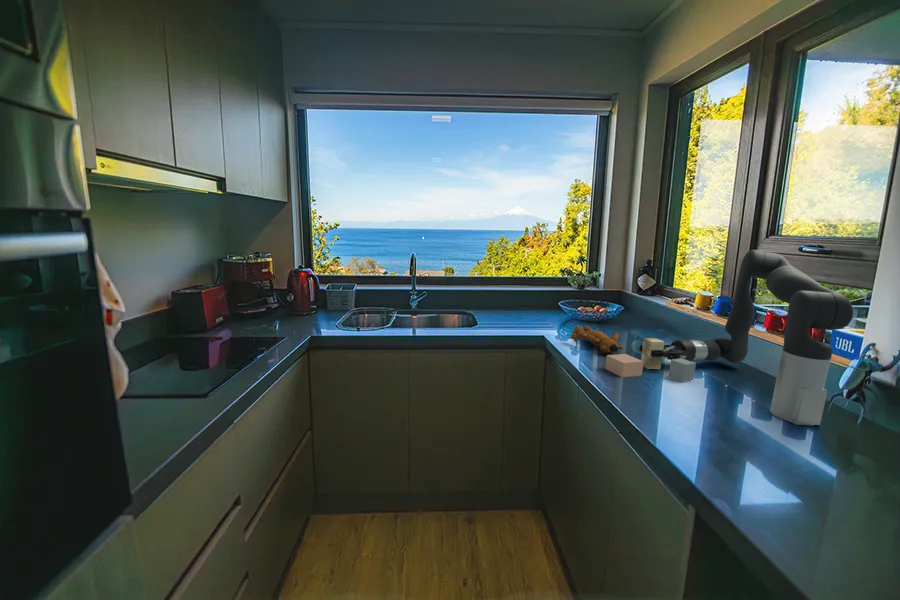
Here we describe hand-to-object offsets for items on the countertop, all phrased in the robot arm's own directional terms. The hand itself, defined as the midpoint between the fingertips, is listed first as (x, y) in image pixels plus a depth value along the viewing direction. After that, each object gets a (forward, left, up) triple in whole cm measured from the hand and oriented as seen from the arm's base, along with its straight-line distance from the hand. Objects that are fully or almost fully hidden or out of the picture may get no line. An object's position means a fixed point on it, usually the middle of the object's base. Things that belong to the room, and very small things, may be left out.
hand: (645, 350), depth 136 cm
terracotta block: (-6, +9, -6) cm, 13 cm away
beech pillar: (0, -3, -6) cm, 7 cm away
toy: (+24, +8, -6) cm, 26 cm away
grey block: (-10, -8, -6) cm, 14 cm away
